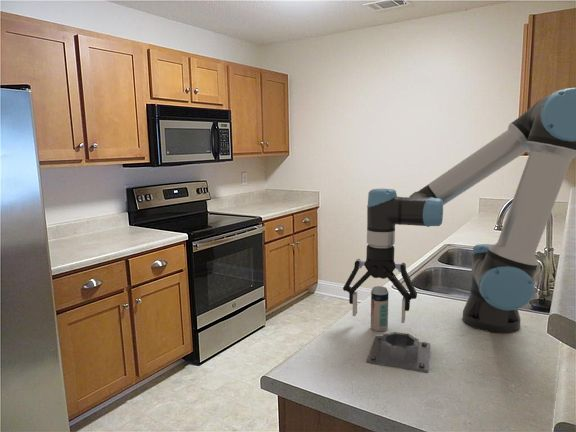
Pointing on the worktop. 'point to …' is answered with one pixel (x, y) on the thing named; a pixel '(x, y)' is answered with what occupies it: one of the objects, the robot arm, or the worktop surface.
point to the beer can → (379, 308)
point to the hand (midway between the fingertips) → (378, 317)
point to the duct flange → (400, 352)
